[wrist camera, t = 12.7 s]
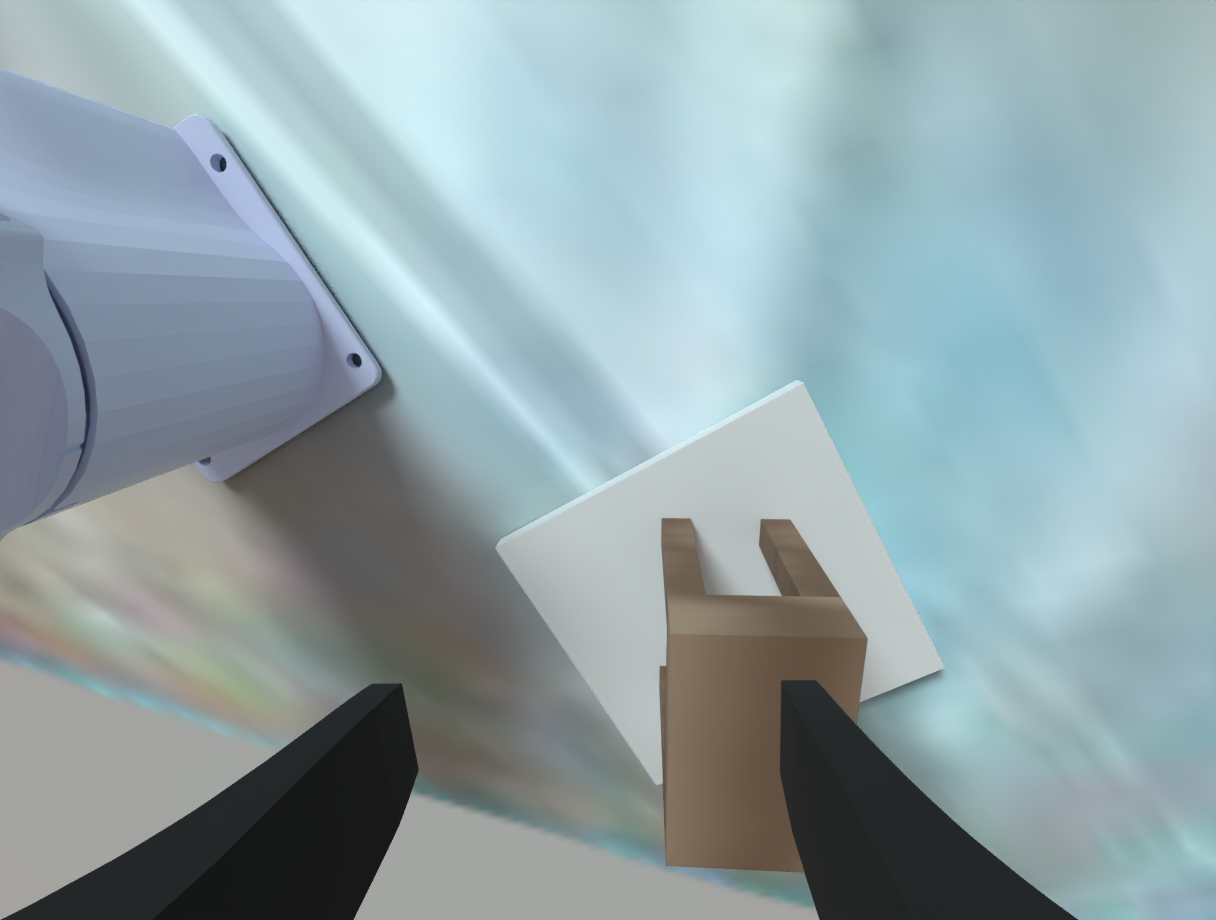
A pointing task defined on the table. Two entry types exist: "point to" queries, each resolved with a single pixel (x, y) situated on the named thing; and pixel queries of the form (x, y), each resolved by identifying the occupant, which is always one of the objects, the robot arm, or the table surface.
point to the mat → (710, 556)
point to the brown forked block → (743, 696)
